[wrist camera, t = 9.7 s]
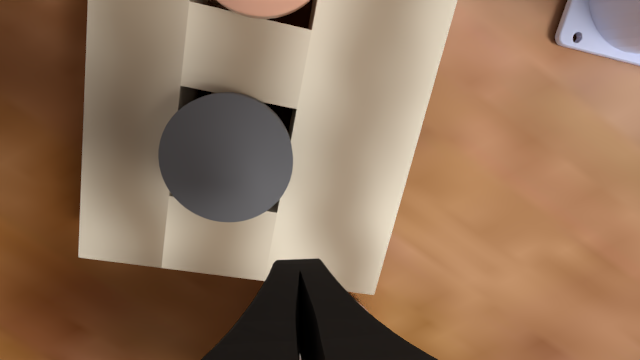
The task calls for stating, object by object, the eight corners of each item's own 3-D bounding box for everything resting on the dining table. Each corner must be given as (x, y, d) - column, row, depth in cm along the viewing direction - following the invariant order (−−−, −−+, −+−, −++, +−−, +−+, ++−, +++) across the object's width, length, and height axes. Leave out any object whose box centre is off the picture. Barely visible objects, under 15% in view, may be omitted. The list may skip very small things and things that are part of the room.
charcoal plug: (298, 99, 19) (304, 108, 14) (280, 194, 20) (280, 230, 16) (193, 77, 18) (165, 81, 14) (182, 178, 19) (152, 212, 15)
